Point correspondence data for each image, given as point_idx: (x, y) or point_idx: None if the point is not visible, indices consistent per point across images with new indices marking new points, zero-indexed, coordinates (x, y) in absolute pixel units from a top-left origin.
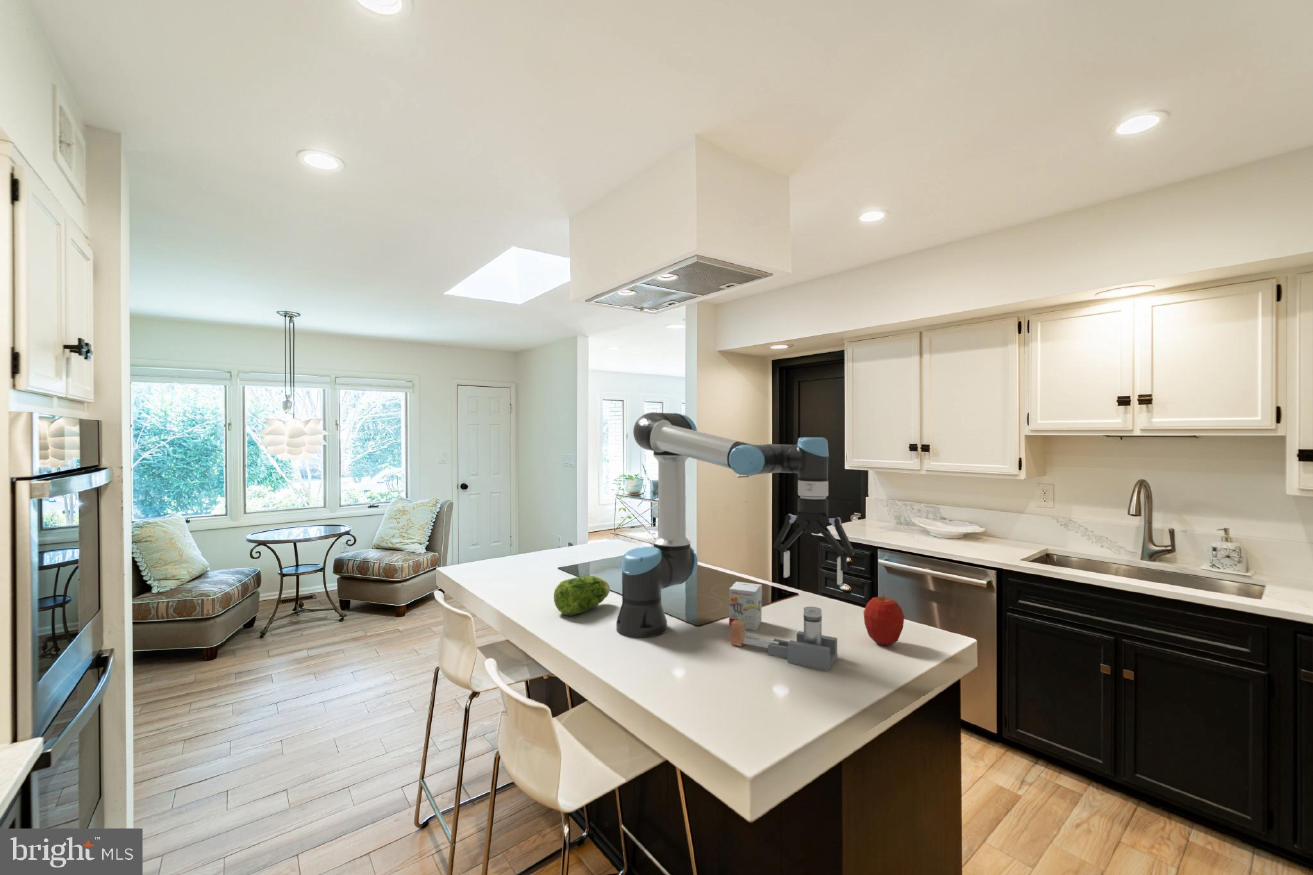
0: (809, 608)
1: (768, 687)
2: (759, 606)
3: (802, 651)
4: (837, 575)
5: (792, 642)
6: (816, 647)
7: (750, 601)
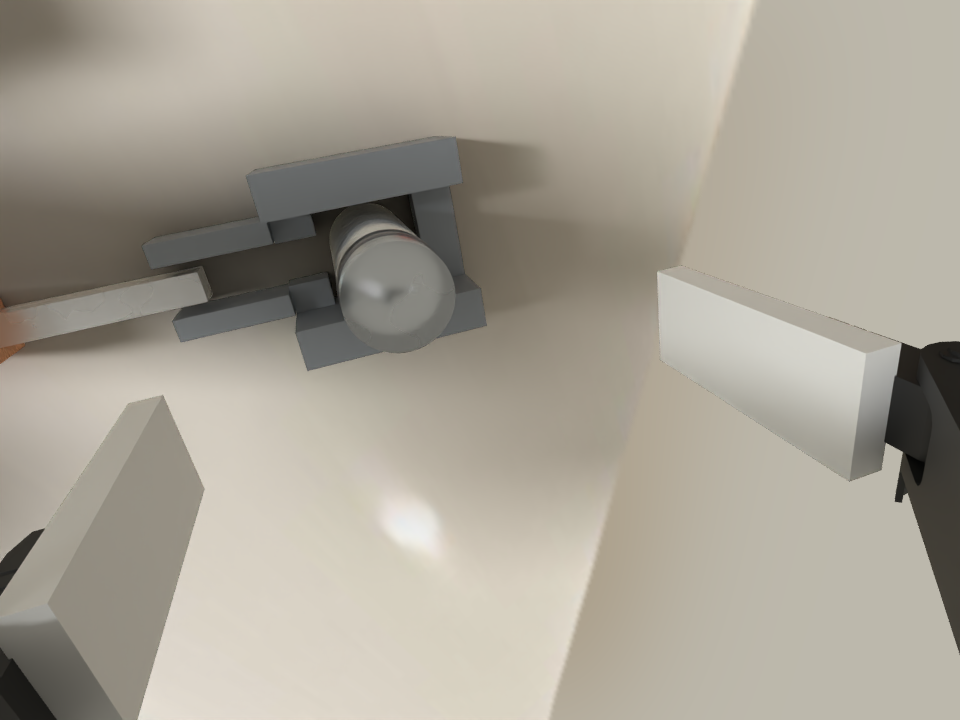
0: (376, 300)
1: (376, 539)
2: None
3: None
4: (711, 391)
5: (320, 351)
6: None
7: None
